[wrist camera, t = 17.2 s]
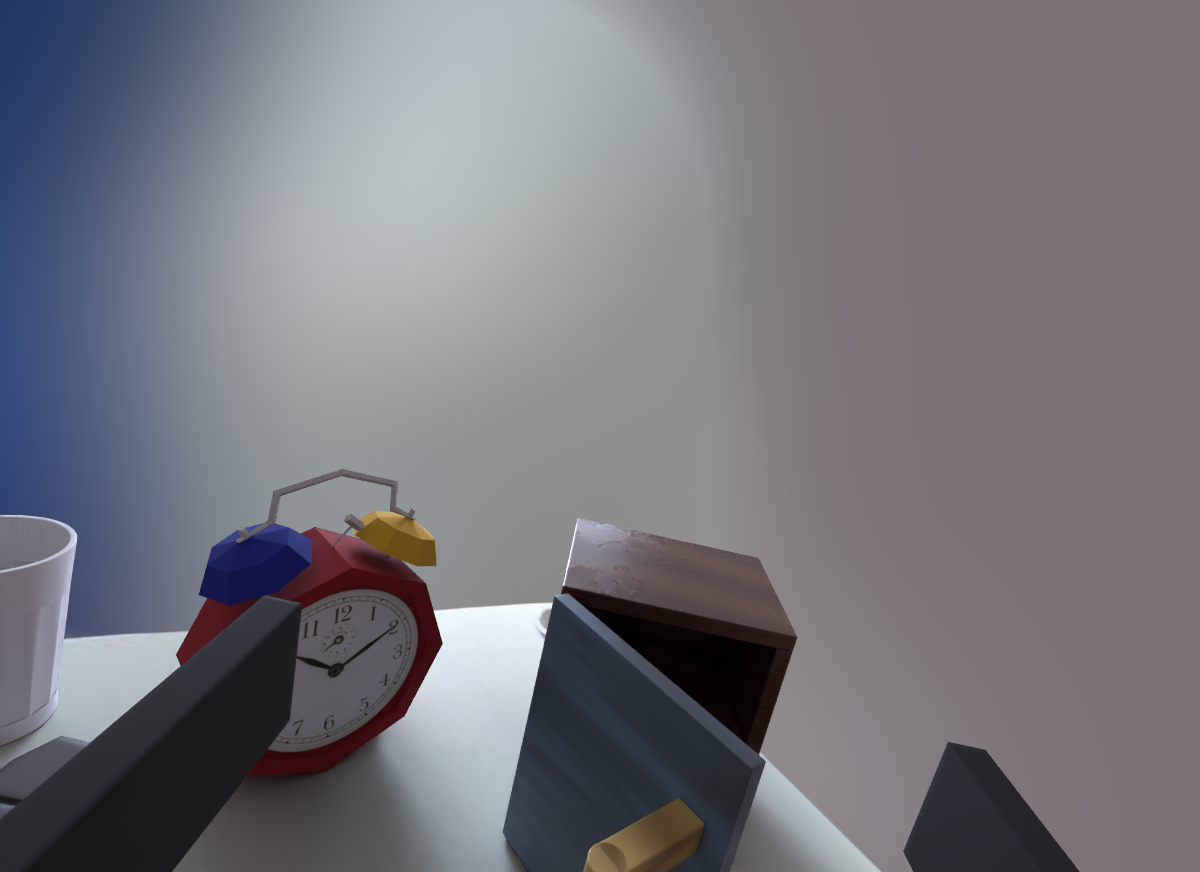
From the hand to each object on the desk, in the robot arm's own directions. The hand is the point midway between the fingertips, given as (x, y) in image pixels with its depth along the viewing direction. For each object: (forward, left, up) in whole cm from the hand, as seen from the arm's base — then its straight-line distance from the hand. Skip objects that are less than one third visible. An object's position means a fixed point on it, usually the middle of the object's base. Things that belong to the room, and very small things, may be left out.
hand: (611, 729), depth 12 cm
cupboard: (-6, -28, -26) cm, 38 cm away
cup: (+35, -22, -26) cm, 49 cm away
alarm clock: (+17, -26, -26) cm, 40 cm away
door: (-1, -14, -26) cm, 29 cm away
